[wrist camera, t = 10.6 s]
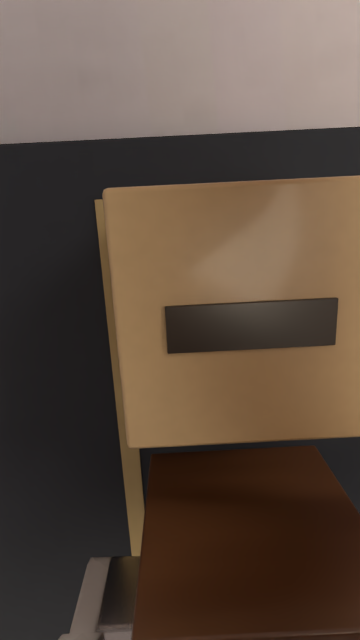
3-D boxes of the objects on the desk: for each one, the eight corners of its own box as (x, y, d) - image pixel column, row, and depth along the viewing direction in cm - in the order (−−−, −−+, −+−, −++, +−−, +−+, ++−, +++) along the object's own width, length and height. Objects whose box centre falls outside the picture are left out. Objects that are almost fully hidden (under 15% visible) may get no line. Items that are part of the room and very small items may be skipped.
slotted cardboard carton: (146, 360, 11) (125, 453, 6) (134, 207, 9) (99, 186, 5) (291, 353, 11) (376, 440, 6) (297, 199, 10) (405, 171, 5)
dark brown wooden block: (161, 581, 11) (151, 833, 6) (150, 452, 9) (129, 648, 5) (308, 573, 11) (404, 820, 6) (315, 444, 9) (439, 632, 5)
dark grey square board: (9, 674, 14) (3, 688, 14) (-117, 153, 9) (-132, 149, 9) (485, 647, 14) (495, 661, 14) (611, 118, 9) (632, 112, 9)
